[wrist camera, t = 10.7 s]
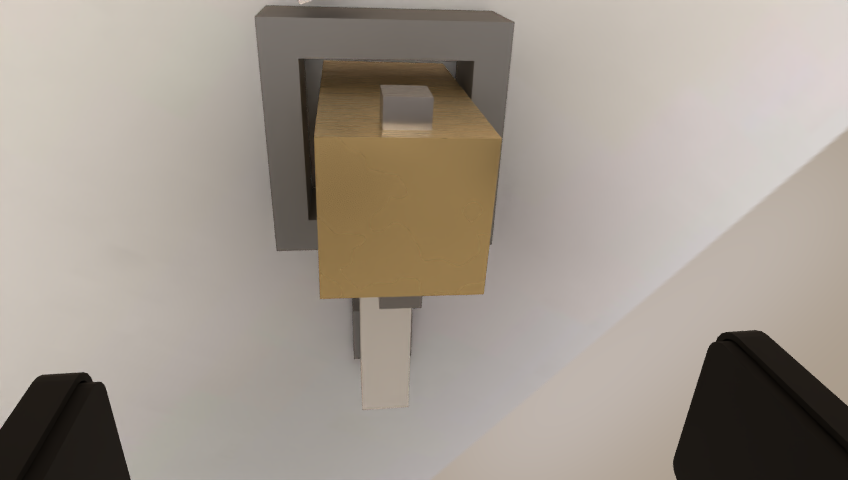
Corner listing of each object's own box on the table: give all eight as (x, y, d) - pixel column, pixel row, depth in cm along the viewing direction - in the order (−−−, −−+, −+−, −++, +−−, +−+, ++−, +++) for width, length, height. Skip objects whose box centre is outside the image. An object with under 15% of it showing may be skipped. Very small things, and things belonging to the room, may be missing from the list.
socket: (515, -260, 17) (547, -294, 15) (462, 359, 28) (475, 402, 26) (202, -287, 16) (176, -330, 14) (273, 369, 27) (267, 416, 25)
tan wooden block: (444, 41, 21) (506, 105, 13) (434, 191, 24) (480, 318, 16) (323, 37, 21) (312, 101, 13) (327, 192, 23) (321, 323, 16)
